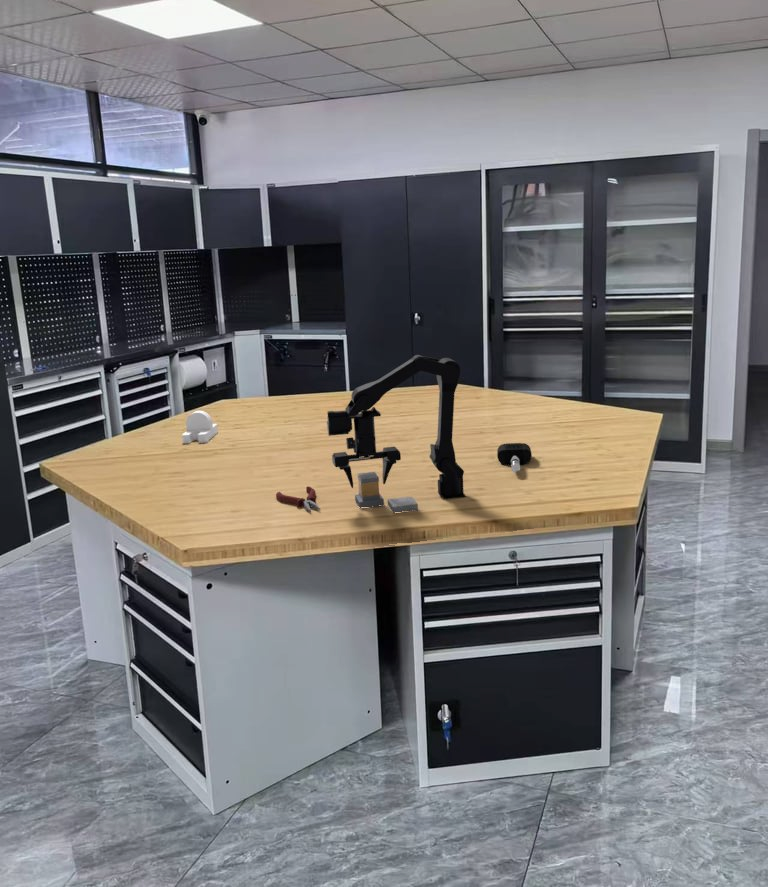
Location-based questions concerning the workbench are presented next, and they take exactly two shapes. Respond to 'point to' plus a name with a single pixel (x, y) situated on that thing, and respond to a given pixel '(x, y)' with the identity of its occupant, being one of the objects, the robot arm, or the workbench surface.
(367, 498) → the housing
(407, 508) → the stand
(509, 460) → the audio adapter
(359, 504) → the stand
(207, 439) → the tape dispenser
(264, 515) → the workbench surface
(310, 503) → the pliers
